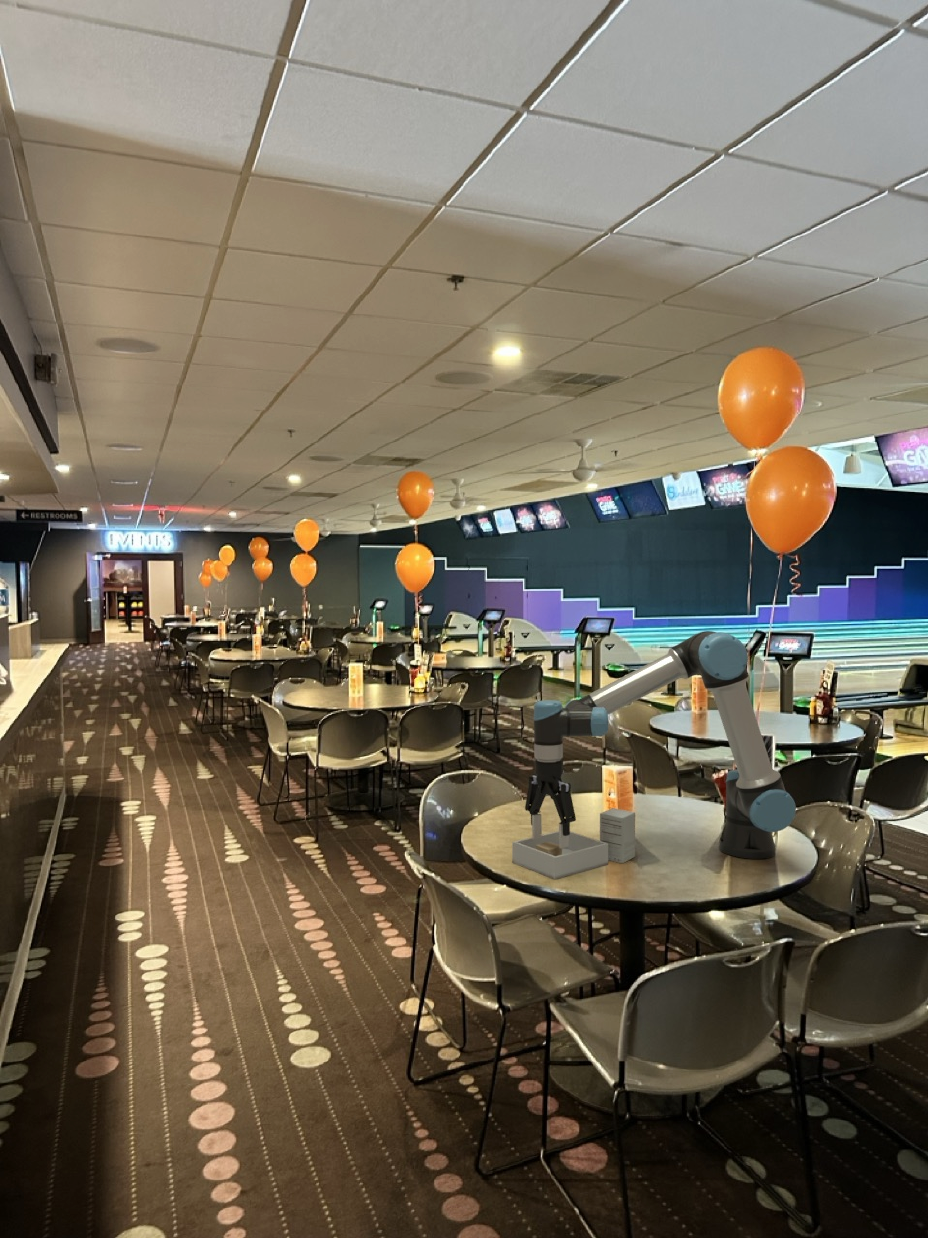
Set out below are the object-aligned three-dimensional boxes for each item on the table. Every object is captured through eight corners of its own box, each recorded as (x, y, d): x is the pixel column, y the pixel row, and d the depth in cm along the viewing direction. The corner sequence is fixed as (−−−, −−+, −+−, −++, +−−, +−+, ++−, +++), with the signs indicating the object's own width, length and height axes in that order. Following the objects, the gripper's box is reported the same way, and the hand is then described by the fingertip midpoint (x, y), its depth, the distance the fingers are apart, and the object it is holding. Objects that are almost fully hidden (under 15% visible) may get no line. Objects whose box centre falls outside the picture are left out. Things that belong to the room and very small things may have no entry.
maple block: (548, 868, 217) (548, 849, 217) (535, 863, 221) (535, 845, 221) (561, 864, 220) (562, 846, 220) (549, 860, 224) (549, 841, 224)
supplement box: (612, 852, 233) (612, 807, 233) (635, 857, 229) (636, 812, 228) (598, 858, 228) (599, 812, 227) (622, 864, 223) (623, 817, 223)
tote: (608, 864, 223) (608, 843, 222) (555, 879, 211) (555, 857, 210) (564, 849, 236) (564, 829, 236) (512, 862, 224) (512, 842, 224)
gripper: (589, 763, 213) (590, 849, 214) (530, 751, 231) (532, 831, 231) (568, 767, 208) (569, 855, 209) (510, 755, 226) (512, 836, 227)
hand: (550, 842), depth 220 cm, fingers open, 10 cm apart
